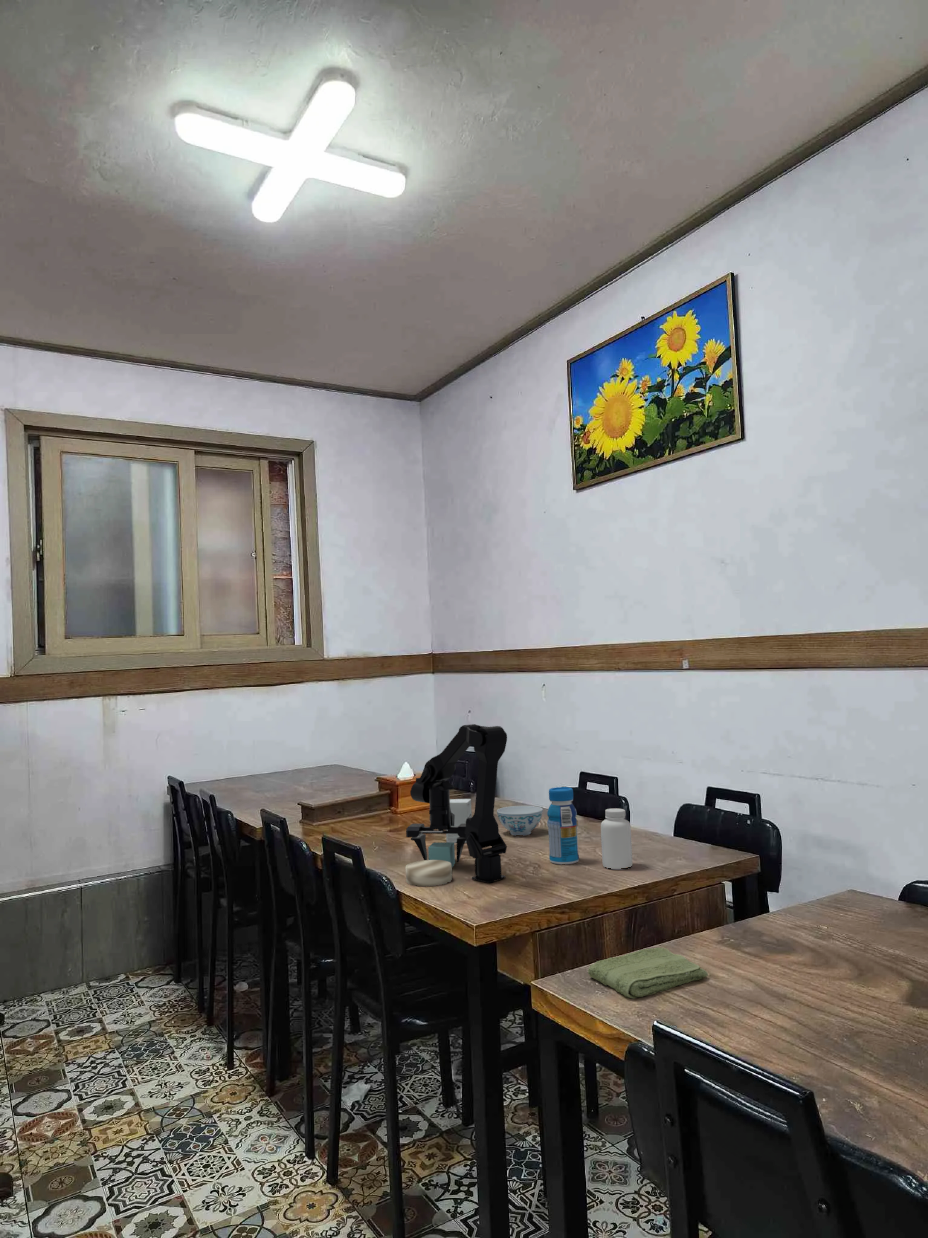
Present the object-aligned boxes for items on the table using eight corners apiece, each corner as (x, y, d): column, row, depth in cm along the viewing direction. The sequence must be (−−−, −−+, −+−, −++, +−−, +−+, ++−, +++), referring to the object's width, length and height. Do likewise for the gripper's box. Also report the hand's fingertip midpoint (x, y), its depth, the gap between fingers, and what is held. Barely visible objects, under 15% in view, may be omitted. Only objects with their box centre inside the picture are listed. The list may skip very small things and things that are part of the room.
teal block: (455, 864, 227) (454, 842, 228) (450, 869, 221) (449, 847, 222) (434, 864, 229) (433, 842, 229) (429, 869, 223) (428, 847, 223)
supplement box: (468, 843, 253) (467, 802, 254) (445, 843, 255) (444, 802, 255) (473, 838, 260) (471, 798, 261) (450, 838, 262) (449, 798, 262)
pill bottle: (638, 865, 217) (635, 809, 218) (622, 872, 211) (619, 813, 212) (613, 861, 222) (610, 806, 223) (596, 867, 216) (593, 811, 217)
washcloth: (712, 981, 139) (711, 962, 139) (631, 1005, 131) (630, 984, 131) (660, 958, 150) (659, 940, 151) (583, 978, 142) (582, 960, 142)
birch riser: (461, 879, 211) (460, 863, 211) (427, 889, 202) (426, 873, 203) (430, 872, 219) (430, 857, 220) (396, 882, 211) (396, 867, 211)
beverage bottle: (544, 864, 223) (540, 790, 224) (555, 857, 230) (552, 786, 231) (573, 866, 219) (569, 791, 220) (583, 859, 226) (580, 787, 228)
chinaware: (513, 827, 275) (512, 804, 275) (552, 831, 266) (551, 807, 266) (488, 836, 263) (487, 812, 263) (528, 840, 254) (527, 815, 254)
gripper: (477, 800, 232) (480, 855, 231) (415, 800, 236) (417, 854, 235) (470, 806, 221) (472, 865, 220) (404, 807, 225) (406, 864, 224)
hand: (442, 861), depth 225 cm, fingers open, 9 cm apart
